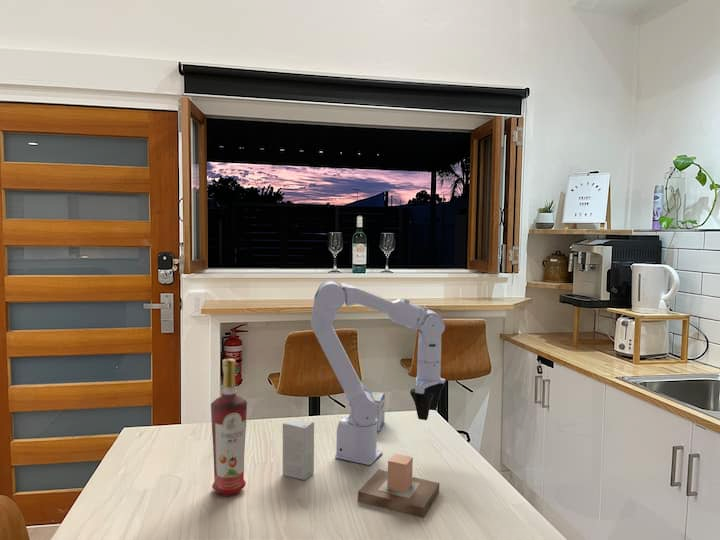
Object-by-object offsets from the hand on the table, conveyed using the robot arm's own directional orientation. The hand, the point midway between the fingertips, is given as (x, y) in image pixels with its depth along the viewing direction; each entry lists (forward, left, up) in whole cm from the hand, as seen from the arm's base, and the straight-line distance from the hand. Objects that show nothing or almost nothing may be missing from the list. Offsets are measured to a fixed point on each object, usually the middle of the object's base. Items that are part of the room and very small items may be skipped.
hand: (427, 414), depth 128 cm
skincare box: (-23, -23, -11) cm, 34 cm away
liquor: (-32, -36, -11) cm, 49 cm away
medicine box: (-19, +12, -11) cm, 25 cm away
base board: (+1, -22, -10) cm, 24 cm away
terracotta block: (+1, -22, -8) cm, 24 cm away
